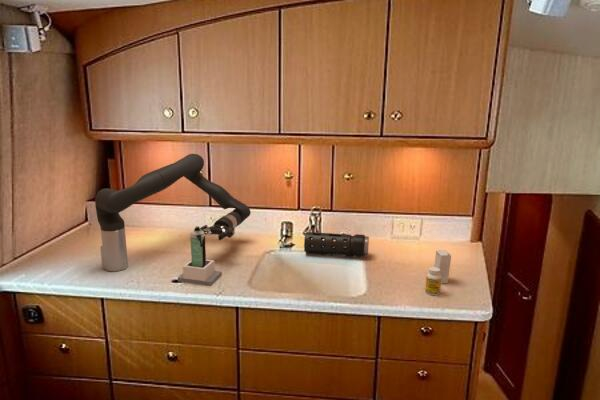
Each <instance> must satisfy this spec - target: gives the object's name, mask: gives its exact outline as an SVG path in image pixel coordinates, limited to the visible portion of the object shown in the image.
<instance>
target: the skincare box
mask: <svg viewBox="0 0 600 400" xmlns="http://www.w3.org/2000/svg"><path fill="white" fill-rule="evenodd" d="M434 256H435V258H434V264H433V265H434V266H433V267H437V268H439V269H440V273H439V274H440V275H441V283H446V284H448V282H449V276H450V269H451V260H452V254H450V252H449V251H448V250H447V249H436V250H435V255H434Z"/></svg>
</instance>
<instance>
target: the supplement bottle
mask: <svg viewBox="0 0 600 400" xmlns="http://www.w3.org/2000/svg"><path fill="white" fill-rule="evenodd" d="M439 273H440V269H439V268H437V267H434V266H431V267H429V268H428V273H426V276H425V277H426V278H425V288H424V289H425V294H427V293H428V294H427V295H429V294H430V296H439V295H440V294H441V287H442V286H441V285H442V284H441V275H440V274H439ZM438 294H439V295H438Z"/></svg>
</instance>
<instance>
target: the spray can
mask: <svg viewBox="0 0 600 400" xmlns="http://www.w3.org/2000/svg"><path fill="white" fill-rule="evenodd" d="M200 228H201V227H200V226H198V225H197V226H195V227H194V229H193V231H191V232H190V252H191V254H190V255H191V257H190V258H191V260H192V267H200V268H204V267H205V266H206V260H207V255H206V252H207V251H206V250H207V249H206V235H205V234H204V233H206V232H204V231H201V229H200Z"/></svg>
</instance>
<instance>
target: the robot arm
mask: <svg viewBox="0 0 600 400" xmlns="http://www.w3.org/2000/svg"><path fill="white" fill-rule="evenodd" d="M204 165H205V160H204V158H203V157H202V156H201V155H199V154H198V153H190V154H186V155H185V156H184V157H182V158H180V159H179V160H177V161H175V162H173V163H169V164H167V165H165V166H162V167H160V168H158V169H157V168H156V169H155V170H154V169H153V170H152V171H150V172H148V173H145V174H143V175H142V176H141V177H139V178H138V180H137V181H136V182H135V183H134V184H132V185H130V186H128V187H126V188H123V189H119V190H115V189H112V188H108V187H107V188H102V189H100V190H98V191H97V193H96V196H95V199H94V203H95V211H96V212H95V213H96V219H97V222H98V224H99V226H100V235H101V244H102V245H101V246H100V256H101V259H100V260H101V267H102V269H104V270H105V271H108V272H119V271H123V270H125V269H127V268H128V267H129V263H128V262H129V260H128V249H127V248H128V247H127V239H126V238H127V237H126V235H127V234H126V227H125V225H126V224H125V219H123V217H122V216H121V215H120V213H121V212H123V211H125V210H126V209H128V208H130V207H131V206H133V205H134V204H136V203H138V202H140V201H142V200H145V199H147V198H149V197H151V196H153V195H155V194H158V193H160V192H163V191H164V190H167V189H168V188H170V187H171V186H172V185H173V184H175V183H176V182H178V181H179V180H180V179H182V178H183V177H184V178H185V179H187V180H188V181H189V182H190V183H192V184H193V185H195V186H196V187H197V188H199V189H201V190H202V191H203V192H204V193H206V194H207V195H208V196H209V197H210V198H211V199H212V200H214V201H215V202H216V204H218V205H219V206H220V207H221V208H222V209H223V210H227V209H229V208H231V207H232V208H234V209H232V211H231V212H228V213H227V214H225V215H223V216H221V217H220V218H218V220H216V221H214V223H213V225H212V226H208V225H207V224H205V225H202V226H201V227H200V229H201V231H204V232H205V233H204V234H205V236H217V235H218V237H217V238H218V241H221V240H223V239H226V238H228V239H231V238H232V237H233V236H234V235H235V230H236V229H235V228H237V227H238V226H240V225H241V224H242V223H243V222H245V221H246V219H248V218H249V217H250V216H251V209H250V207H249V206H248V205H247V204H245V203H243V202H242V201H241V200H238V199H237V198H235V197H234V196H232V195H231V194H230V193H229V192H228V190H226V189H225V188H224V187H223V186H221V185H220V184H217V183H215V182H212V181H211V180H209V179H207V177H204V176H203V174H202V173H201V171H202V170H203V168H204Z"/></svg>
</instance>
